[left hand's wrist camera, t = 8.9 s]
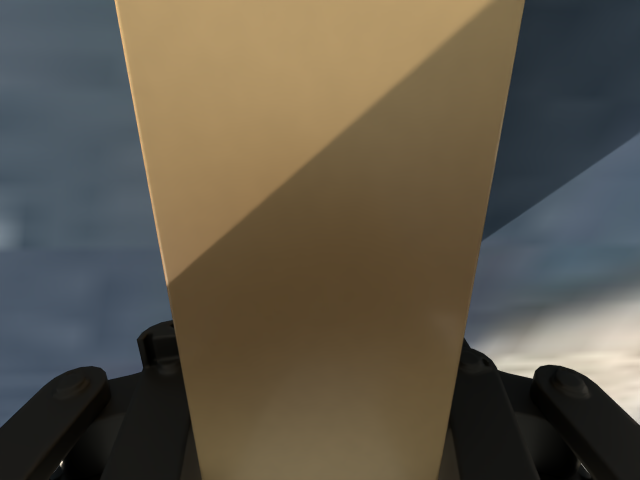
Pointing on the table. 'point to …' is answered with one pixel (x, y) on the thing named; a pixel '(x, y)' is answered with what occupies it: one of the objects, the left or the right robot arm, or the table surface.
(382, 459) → the wooden beam
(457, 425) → the left robot arm
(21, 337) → the table surface
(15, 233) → the table surface
